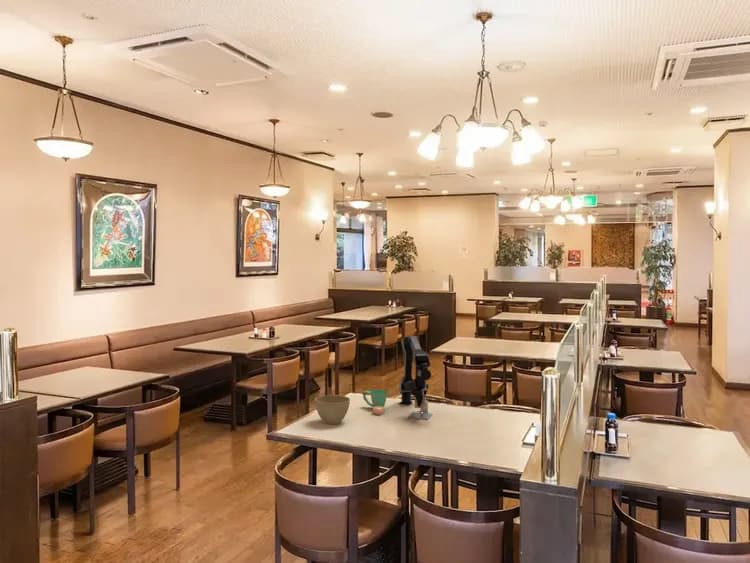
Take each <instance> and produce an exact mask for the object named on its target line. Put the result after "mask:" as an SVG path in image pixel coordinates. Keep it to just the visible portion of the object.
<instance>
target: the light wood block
mask: <svg viewBox="0 0 750 563" xmlns="http://www.w3.org/2000/svg"><path fill="white" fill-rule="evenodd" d="M428 405H429V402H428V400H427V399H426V406H425V408H424V409H422V408H419V410H420V412H423V413H429V411H428V410H429V406H428Z"/></svg>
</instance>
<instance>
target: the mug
mask: <svg viewBox="0 0 750 563" xmlns="http://www.w3.org/2000/svg"><path fill="white" fill-rule="evenodd" d="M366 394H368V395H370V398H371V402H370V401H369V399H368V398H367V396H366ZM362 396H363V400H364V401H365V403H366V404H367V405H369V406H370V407H372V408H373V407H374V406H382V407H384V408H385V405H386V402H387V397H388V390H385V389H372V390H370V391H369V390H365V391H364V392H363V393H362Z"/></svg>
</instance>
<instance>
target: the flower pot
mask: <svg viewBox="0 0 750 563" xmlns="http://www.w3.org/2000/svg"><path fill="white" fill-rule="evenodd" d="M350 402H351V398H349V397H347V396H345V395H337V394H333V395H332V394H329V395H320V396H318V397H315V398H314V403H315V409H316V411H317V415H318V416H319V417H320V419H321V420H322V422H323V423H324V424H327V425H336V424H337V425H338V424H340V423H341V422H342V421H343V419H344V418H345V417H346V415H347V413H348V410H349V408H350V404H351V403H350Z"/></svg>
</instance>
